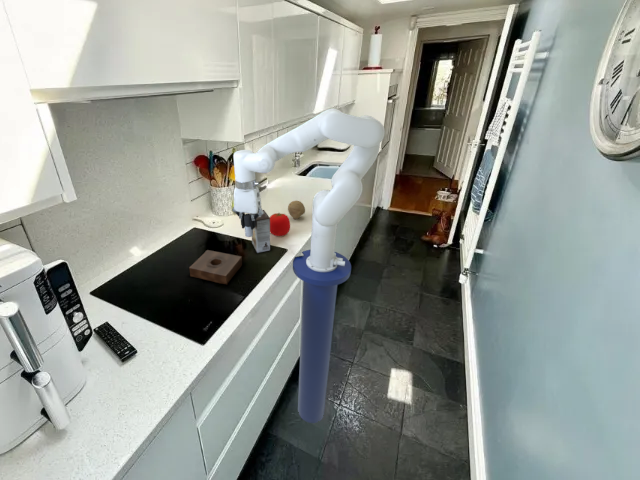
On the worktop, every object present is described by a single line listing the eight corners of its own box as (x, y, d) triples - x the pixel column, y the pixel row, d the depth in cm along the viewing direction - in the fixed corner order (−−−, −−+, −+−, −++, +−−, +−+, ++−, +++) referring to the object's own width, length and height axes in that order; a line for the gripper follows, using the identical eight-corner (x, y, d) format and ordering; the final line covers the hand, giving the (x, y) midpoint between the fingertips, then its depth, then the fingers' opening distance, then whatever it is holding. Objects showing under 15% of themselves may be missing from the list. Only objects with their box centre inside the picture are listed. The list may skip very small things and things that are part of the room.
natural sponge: (297, 213, 170) (298, 196, 165) (308, 219, 163) (309, 201, 159) (284, 217, 165) (284, 200, 161) (295, 223, 159) (295, 205, 154)
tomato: (289, 240, 143) (289, 219, 138) (266, 238, 145) (266, 218, 140) (291, 230, 152) (291, 210, 148) (270, 228, 154) (269, 209, 150)
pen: (254, 234, 126) (253, 213, 122) (251, 237, 123) (250, 217, 119) (247, 232, 127) (245, 213, 123) (244, 236, 124) (242, 216, 120)
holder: (242, 264, 126) (241, 256, 124) (226, 284, 115) (225, 275, 113) (208, 257, 132) (207, 249, 130) (190, 276, 120) (189, 267, 119)
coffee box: (251, 243, 142) (250, 211, 135) (264, 240, 143) (263, 209, 136) (257, 253, 134) (256, 220, 127) (271, 250, 136) (270, 217, 128)
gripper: (269, 182, 115) (271, 226, 123) (230, 179, 121) (234, 221, 129) (262, 189, 109) (264, 234, 117) (221, 185, 115) (226, 229, 123)
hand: (248, 227), depth 123 cm, fingers closed on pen, 3 cm apart
